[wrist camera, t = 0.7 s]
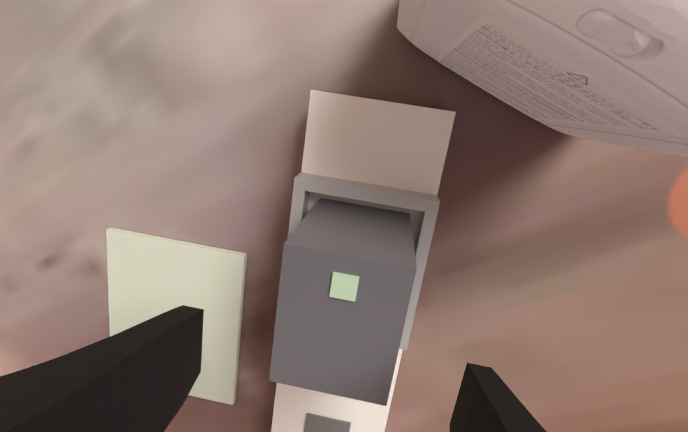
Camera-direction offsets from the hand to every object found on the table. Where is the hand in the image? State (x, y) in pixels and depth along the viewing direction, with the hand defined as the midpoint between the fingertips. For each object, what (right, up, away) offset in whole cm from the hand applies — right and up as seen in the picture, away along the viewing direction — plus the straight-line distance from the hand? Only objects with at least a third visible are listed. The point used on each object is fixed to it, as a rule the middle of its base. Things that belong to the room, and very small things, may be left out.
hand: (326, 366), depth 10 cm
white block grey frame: (+1, -1, +11) cm, 11 cm away
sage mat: (-10, -2, +13) cm, 16 cm away
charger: (+1, +2, +7) cm, 8 cm away
